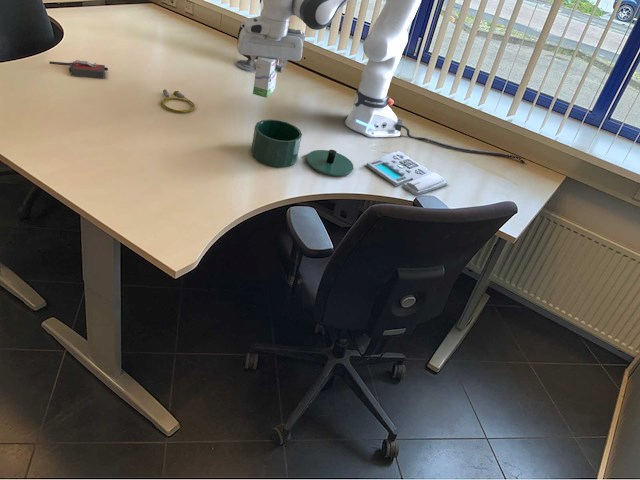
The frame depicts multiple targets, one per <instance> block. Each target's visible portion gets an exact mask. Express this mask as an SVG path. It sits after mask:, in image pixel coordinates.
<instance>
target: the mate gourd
mask: <svg viewBox="0 0 640 480" xmlns="http://www.w3.org/2000/svg"><path fill="white" fill-rule="evenodd" d="M244 27H245V26H244V22H242V23H240V26H239V29H238V33H237V43H236V44H238V39H239V35H240V32H241V30H242V29H243V28H244ZM242 56H243V57H245V58H246V59H240V60H239V59H238V60H237V61H236V63H235V65H236V67H237V68H238V69H240V70H243V71H245V72H249V73H250V72H251V73H255V72H256V70H253V69H252V66H253V62H252V60H251V57H250V55H242ZM258 57H259V56H256V59H254V61H255V60H257V59H258ZM255 63H257V61H255Z"/></svg>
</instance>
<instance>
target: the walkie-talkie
mask: <svg viewBox="0 0 640 480" xmlns="http://www.w3.org/2000/svg"><path fill="white" fill-rule="evenodd" d="M48 63H49V65H55V66H68V72H69V74H70V73H71V76H73V77H80V78H81V77H82V78H93V79H94V78H95V79H105V78H106V72H107V71H109V68H108V67H106V66H105V64H97V63H96V62H94V63H90V62H89V61H87V60H78V59H77V60H73V61H72V62H64V61H63V62H62V61H52V60H50V61H48Z"/></svg>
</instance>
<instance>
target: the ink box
mask: <svg viewBox="0 0 640 480" xmlns="http://www.w3.org/2000/svg"><path fill="white" fill-rule="evenodd" d="M279 61H280V59H276V58H267V57H258V59H256V62H257V64H256V72H254V81H253V89H252V94H253V95H255V96H258V97H261V98H264V99H265V98H268V97H269V96H270V95H271V94H272V93H273V92H274V91H275V88H276V82H277V75H278V72H277V65H279Z"/></svg>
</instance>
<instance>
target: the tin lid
mask: <svg viewBox="0 0 640 480" xmlns="http://www.w3.org/2000/svg"><path fill="white" fill-rule="evenodd" d="M306 162H307V164H308V165H309V167H310V168H311V169H313V170H315V171H317V172H318V173H321V174H324V175H328V176H333V177H345V176H348V175H349V174H351V173H352V172H353V170H354V164H353V162H352V161H351V160H350V159H349V158H348V157H346V156H345V155H344V154H341V153H339V152H337V151H336V150H335V149H329V150H327V149H316V150H312V151H310V152H309V153H308V154H307V156H306Z"/></svg>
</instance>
